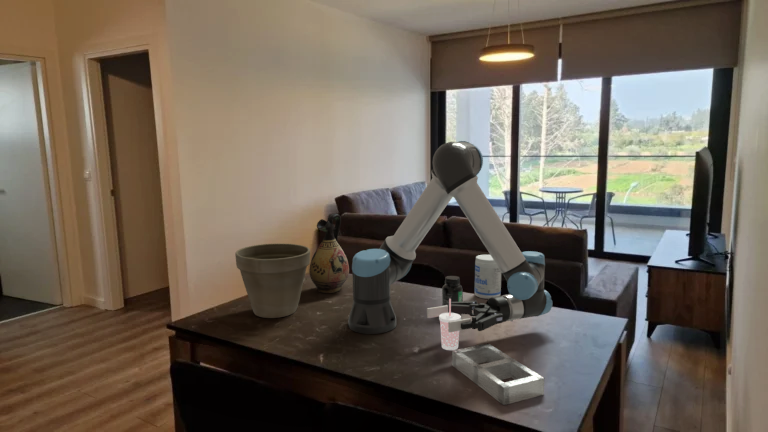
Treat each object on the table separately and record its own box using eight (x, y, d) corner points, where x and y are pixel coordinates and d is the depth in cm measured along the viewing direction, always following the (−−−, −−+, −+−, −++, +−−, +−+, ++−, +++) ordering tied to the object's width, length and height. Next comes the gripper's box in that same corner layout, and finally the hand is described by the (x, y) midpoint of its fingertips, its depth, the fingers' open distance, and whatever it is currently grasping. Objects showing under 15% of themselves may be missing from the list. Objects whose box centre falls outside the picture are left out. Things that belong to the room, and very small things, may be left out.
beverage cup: (438, 342, 146) (438, 295, 144) (460, 342, 145) (460, 295, 143) (439, 351, 140) (438, 302, 138) (461, 351, 139) (461, 302, 137)
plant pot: (327, 309, 177) (325, 248, 174) (269, 330, 158) (266, 262, 155) (281, 296, 193) (279, 240, 190) (224, 313, 174) (220, 251, 171)
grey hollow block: (452, 365, 131) (452, 350, 130) (488, 357, 135) (488, 343, 135) (503, 405, 111) (503, 387, 110) (543, 394, 115) (544, 378, 115)
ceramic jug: (333, 298, 189) (330, 218, 185) (302, 292, 198) (298, 215, 193) (359, 286, 203) (357, 212, 199) (329, 281, 212) (327, 210, 207)
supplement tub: (469, 296, 188) (470, 257, 186) (482, 290, 195) (482, 253, 193) (493, 301, 182) (493, 261, 180) (505, 295, 189) (506, 256, 187)
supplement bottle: (465, 314, 169) (465, 279, 167) (446, 316, 167) (446, 281, 166) (458, 308, 176) (458, 274, 174) (439, 309, 174) (439, 275, 172)
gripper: (529, 334, 138) (460, 348, 130) (480, 308, 160) (418, 319, 151) (530, 308, 137) (460, 320, 129) (480, 285, 159) (418, 295, 150)
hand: (437, 319), depth 140 cm, fingers open, 11 cm apart
